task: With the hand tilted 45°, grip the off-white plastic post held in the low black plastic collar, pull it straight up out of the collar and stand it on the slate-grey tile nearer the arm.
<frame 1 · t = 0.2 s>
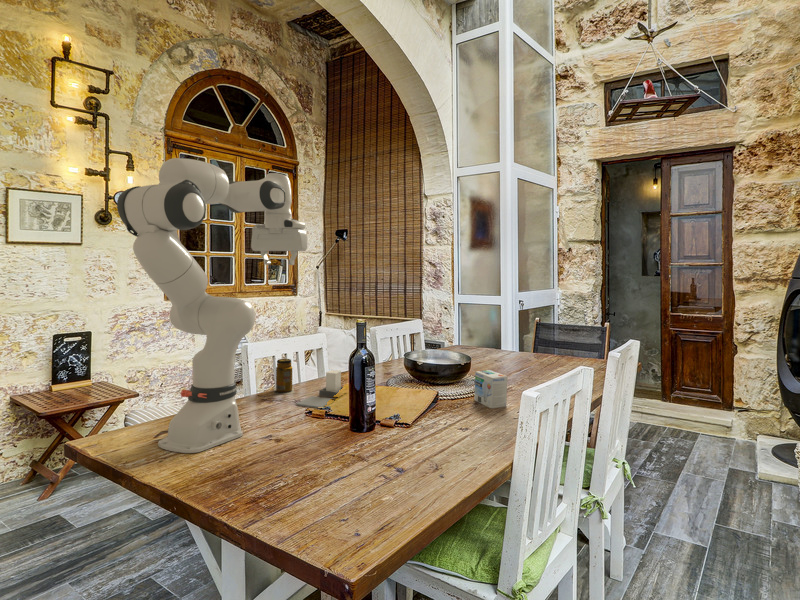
hand: (279, 264, 161), 48 cm above the table, tool pointing down, fingers open, 8 cm apart
light bulb box: (490, 404, 168), on the table
post: (333, 383, 177), in the collar
condiment: (283, 392, 180), on the table
collar: (333, 394, 177), on the table
tile: (316, 403, 166), on the table
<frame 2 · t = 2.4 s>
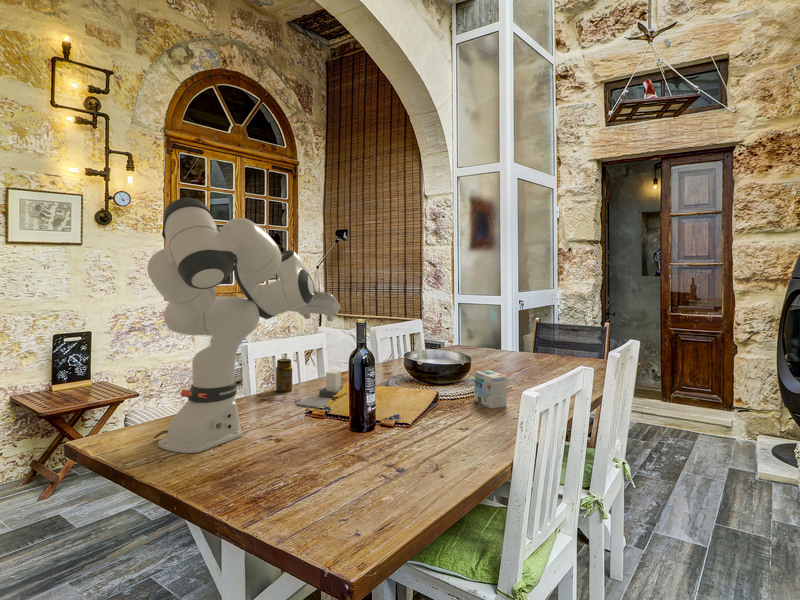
hand: (319, 318, 164), 30 cm above the table, tool tilted 45°, fingers open, 8 cm apart
nothing on the table moved.
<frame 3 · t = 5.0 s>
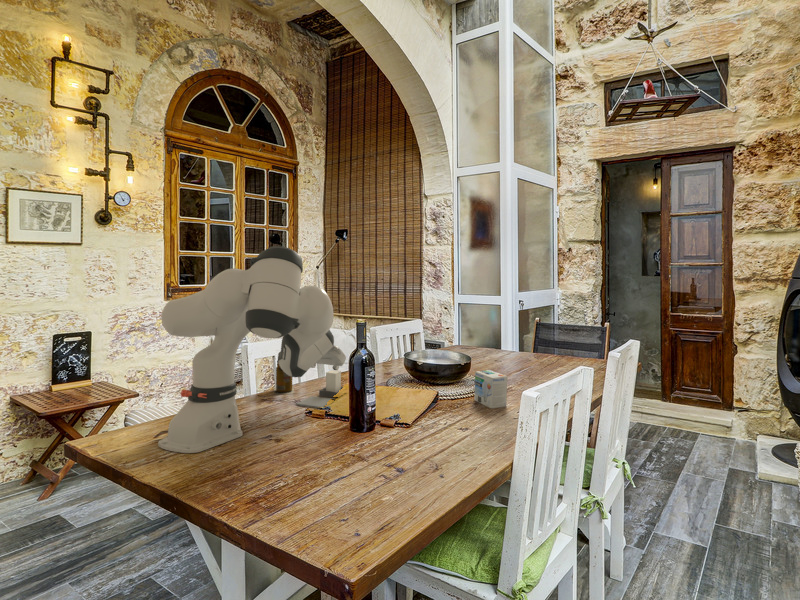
hand: (325, 367, 169), 12 cm above the table, tool tilted 45°, fingers open, 8 cm apart
nothing on the table moved.
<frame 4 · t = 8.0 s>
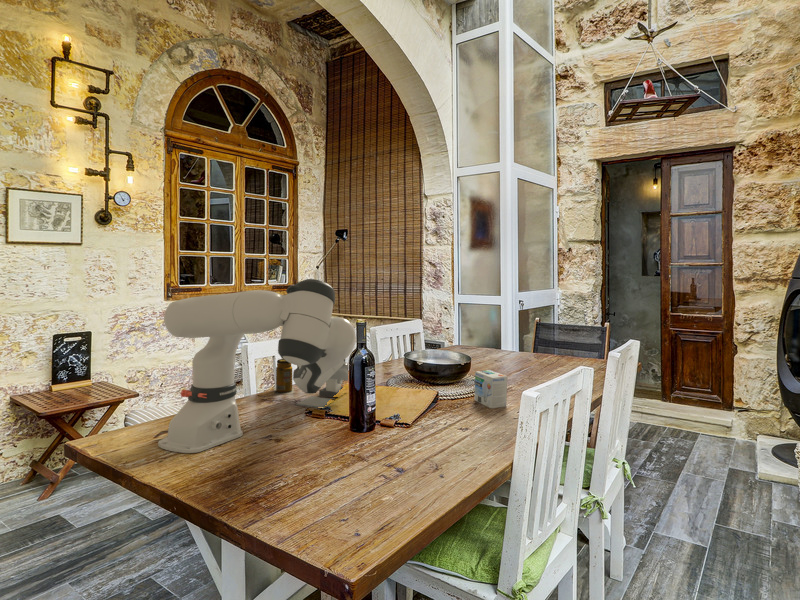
hand: (334, 381, 177), 5 cm above the table, tool tilted 45°, fingers closed on post, 4 cm apart
post: (333, 383, 177), in the collar, touching gripper
everything else where it was.
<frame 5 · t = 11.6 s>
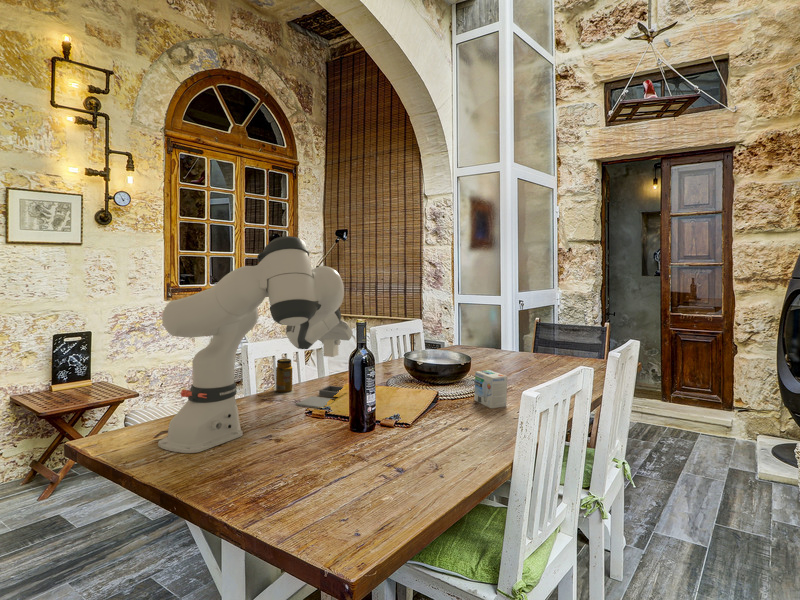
hand: (331, 342, 175), 19 cm above the table, tool tilted 45°, fingers closed on post, 4 cm apart
post: (331, 344, 175), point 19 cm above the table, touching gripper
everything else where it was.
when the fingers open (6 cm above the table, at t = 15.5 s): post drops 1 cm, resting on tile.
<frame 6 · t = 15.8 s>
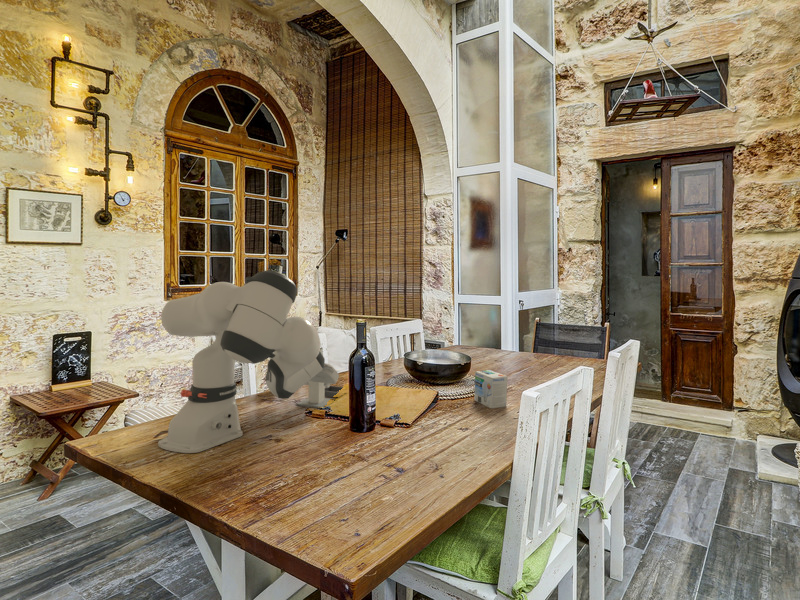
hand: (317, 384, 166), 6 cm above the table, tool tilted 45°, fingers open, 7 cm apart
post: (316, 389, 166), on the tile, point 5 cm above the table
everything else where it was.
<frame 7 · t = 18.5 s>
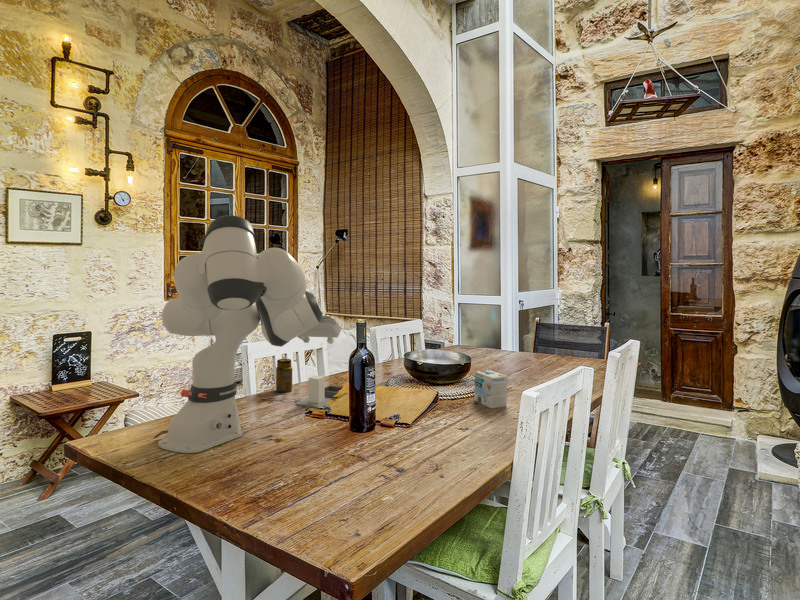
hand: (319, 341, 165), 21 cm above the table, tool tilted 45°, fingers open, 8 cm apart
nothing on the table moved.
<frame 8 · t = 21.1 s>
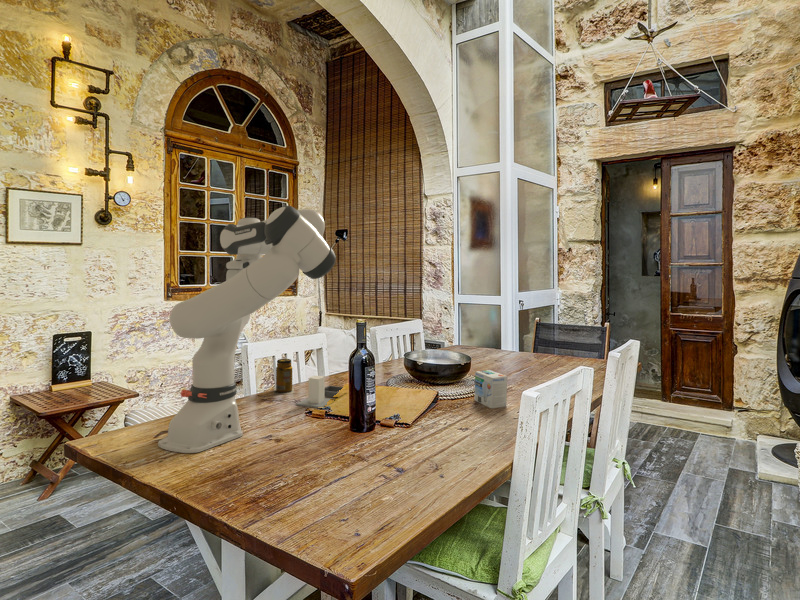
hand: (249, 302, 172), 34 cm above the table, tool pointing down, fingers open, 8 cm apart
nothing on the table moved.
at the end: post inside the target area (0.0 cm from its centre), point 4.8 cm above the table; post tilted 0°; the gripper is holding nothing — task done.
